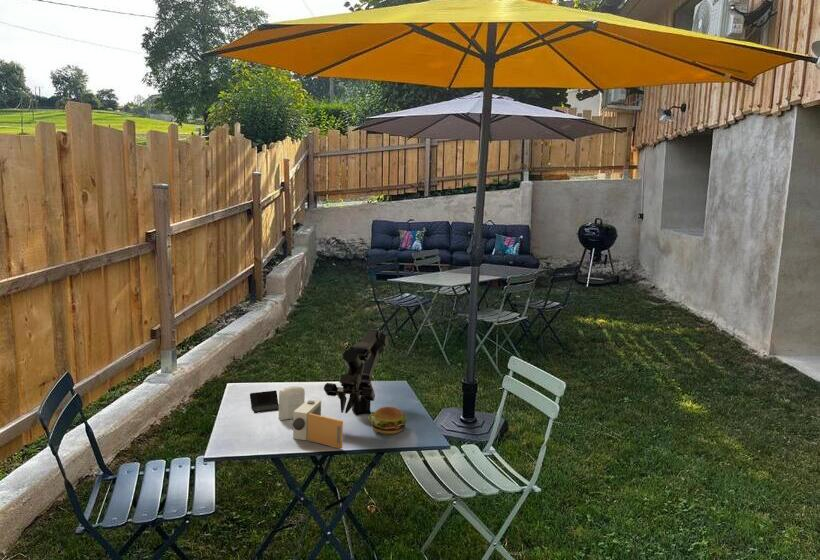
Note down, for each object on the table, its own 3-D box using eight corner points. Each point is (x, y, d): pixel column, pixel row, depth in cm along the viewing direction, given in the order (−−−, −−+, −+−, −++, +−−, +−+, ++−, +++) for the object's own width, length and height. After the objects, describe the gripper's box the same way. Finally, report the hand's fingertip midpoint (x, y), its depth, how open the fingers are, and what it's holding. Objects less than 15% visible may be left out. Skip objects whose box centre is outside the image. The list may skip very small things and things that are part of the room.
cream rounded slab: (301, 413, 246) (301, 383, 244) (305, 416, 242) (306, 386, 241) (276, 417, 240) (277, 387, 238) (281, 421, 237) (281, 390, 235)
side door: (342, 447, 215) (342, 420, 213) (340, 449, 213) (341, 421, 212) (307, 438, 221) (308, 412, 219) (305, 440, 220) (306, 413, 218)
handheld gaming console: (256, 411, 242) (254, 387, 246) (250, 417, 247) (247, 393, 251) (284, 410, 249) (280, 386, 253) (276, 416, 254) (274, 393, 258)
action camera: (308, 424, 235) (308, 397, 233) (320, 425, 234) (321, 398, 232) (291, 439, 220) (291, 411, 218) (304, 441, 219) (305, 413, 217)
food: (364, 423, 239) (365, 403, 237) (400, 421, 242) (401, 401, 241) (372, 437, 226) (372, 416, 224) (409, 434, 229) (410, 414, 228)
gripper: (325, 362, 232) (314, 400, 223) (373, 367, 227) (363, 406, 219) (332, 376, 240) (321, 413, 232) (378, 381, 236) (369, 419, 228)
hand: (343, 412), depth 227 cm, fingers closed
